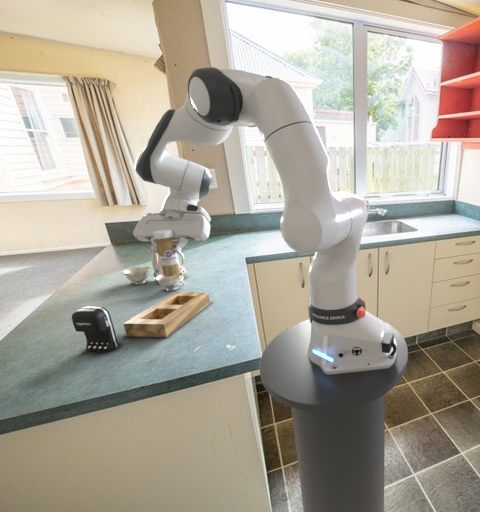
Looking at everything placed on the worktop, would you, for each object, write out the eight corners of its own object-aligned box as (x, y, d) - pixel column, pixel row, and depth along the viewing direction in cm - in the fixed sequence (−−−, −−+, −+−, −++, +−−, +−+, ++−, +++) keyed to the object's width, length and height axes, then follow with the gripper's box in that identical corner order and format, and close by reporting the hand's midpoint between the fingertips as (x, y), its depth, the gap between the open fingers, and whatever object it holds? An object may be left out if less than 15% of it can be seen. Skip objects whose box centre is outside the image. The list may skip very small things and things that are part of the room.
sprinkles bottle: (167, 278, 86) (156, 233, 82) (160, 274, 88) (149, 231, 84) (184, 273, 90) (175, 230, 86) (177, 270, 92) (167, 228, 88)
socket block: (210, 303, 99) (207, 292, 98) (166, 337, 80) (163, 324, 79) (177, 303, 100) (175, 292, 98) (127, 336, 81) (123, 323, 80)
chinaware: (117, 290, 113) (99, 250, 106) (157, 271, 128) (144, 234, 121) (176, 298, 107) (162, 256, 100) (211, 277, 121) (200, 239, 115)
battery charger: (80, 353, 73) (65, 312, 70) (95, 344, 77) (82, 305, 74) (107, 354, 73) (93, 313, 70) (121, 345, 77) (108, 306, 73)
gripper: (136, 207, 89) (120, 247, 83) (207, 206, 90) (196, 246, 84) (150, 219, 95) (136, 257, 88) (216, 218, 96) (206, 256, 90)
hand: (166, 252), depth 86 cm, fingers closed on sprinkles bottle, 4 cm apart
